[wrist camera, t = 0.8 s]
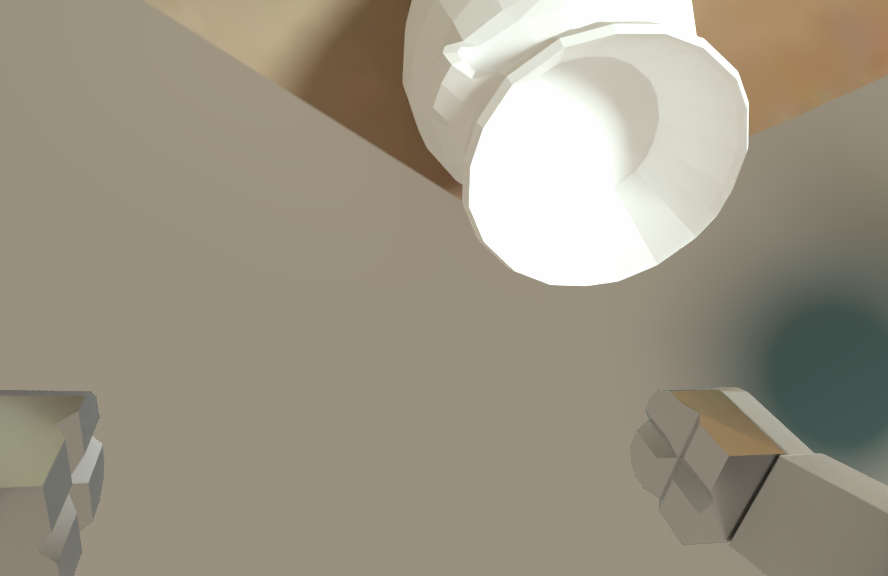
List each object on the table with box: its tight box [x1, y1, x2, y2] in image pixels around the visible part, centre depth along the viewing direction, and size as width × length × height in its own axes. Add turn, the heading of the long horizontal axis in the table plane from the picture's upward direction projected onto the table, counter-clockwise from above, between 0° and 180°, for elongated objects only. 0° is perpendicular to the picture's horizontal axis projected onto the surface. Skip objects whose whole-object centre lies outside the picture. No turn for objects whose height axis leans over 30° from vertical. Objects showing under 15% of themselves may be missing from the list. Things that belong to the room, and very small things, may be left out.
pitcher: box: [402, 0, 749, 286], centre depth 36 cm, size 19×18×25 cm
